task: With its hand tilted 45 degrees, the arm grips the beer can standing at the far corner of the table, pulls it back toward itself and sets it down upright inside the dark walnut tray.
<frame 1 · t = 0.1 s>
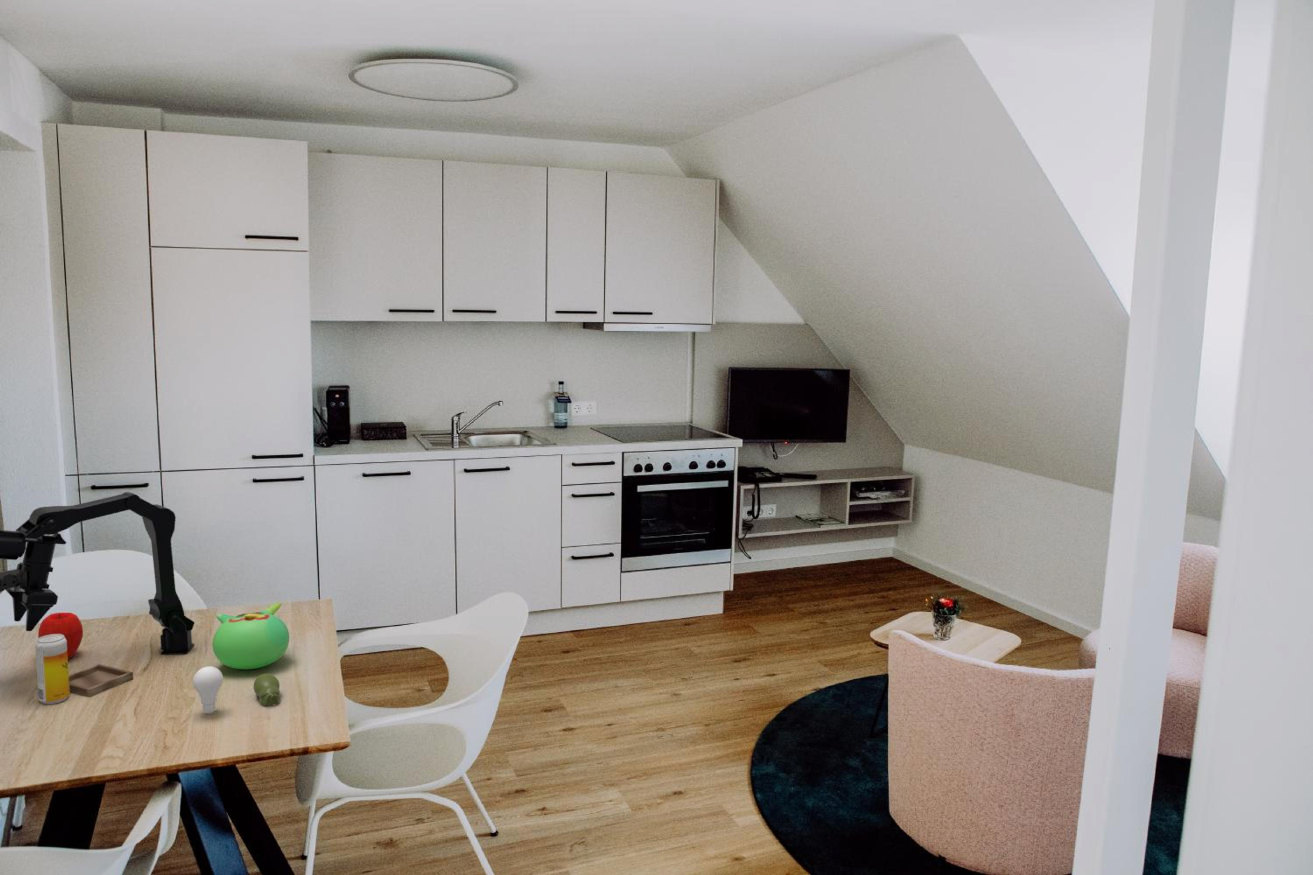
hand: (22, 625, 218), 15 cm above the table, tool pointing down, fingers open, 9 cm apart
lightbulb: (209, 714, 210), on the table
olive green rounded piece: (268, 700, 218), on the table
toy bird: (252, 666, 237), on the table
apple: (62, 658, 238), on the table
beer can: (54, 700, 214), on the table
tray: (94, 683, 223), on the table
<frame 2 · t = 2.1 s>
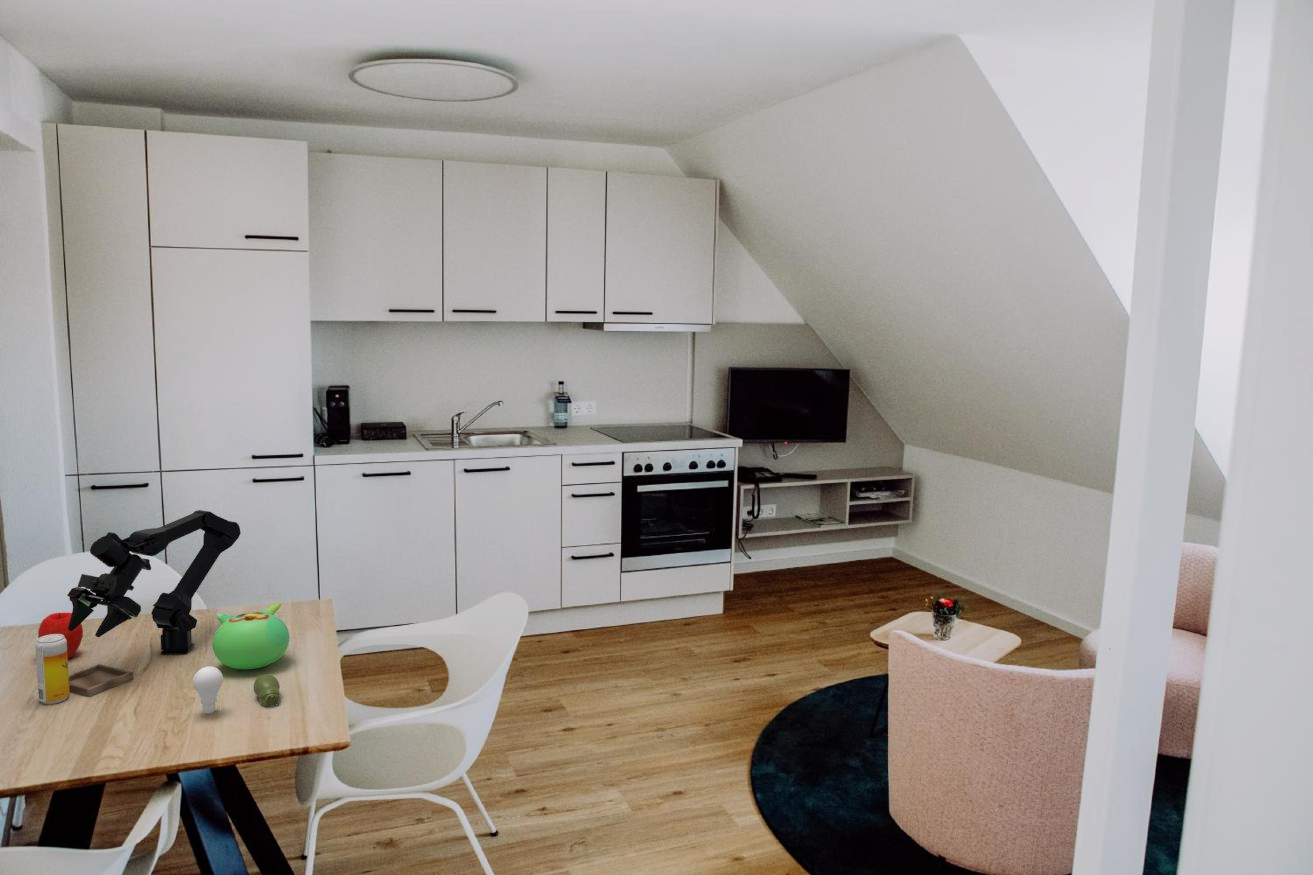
hand: (83, 633, 219), 13 cm above the table, tool tilted 45°, fingers open, 9 cm apart
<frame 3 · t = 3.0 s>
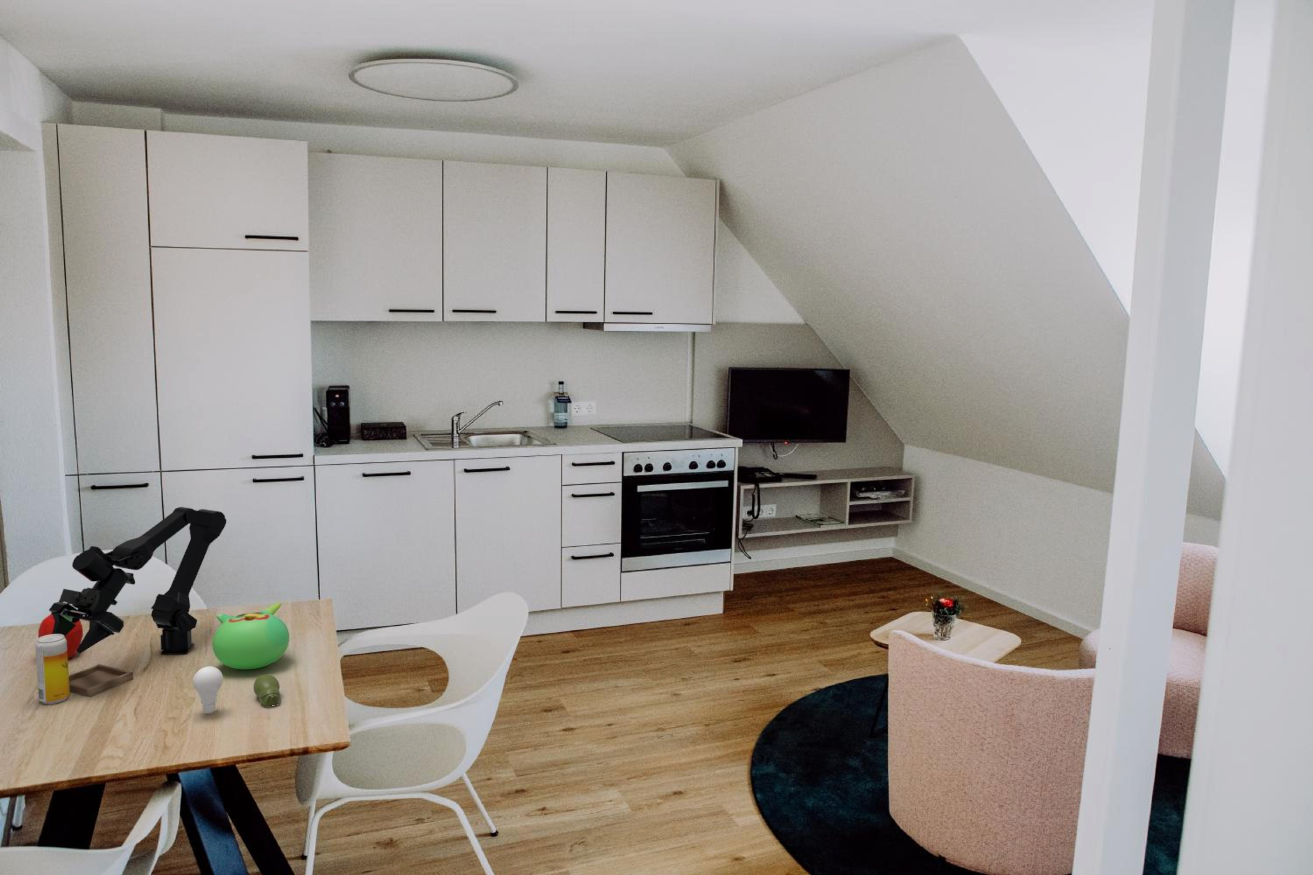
hand: (64, 649, 215), 11 cm above the table, tool tilted 45°, fingers open, 9 cm apart
nothing on the table moved.
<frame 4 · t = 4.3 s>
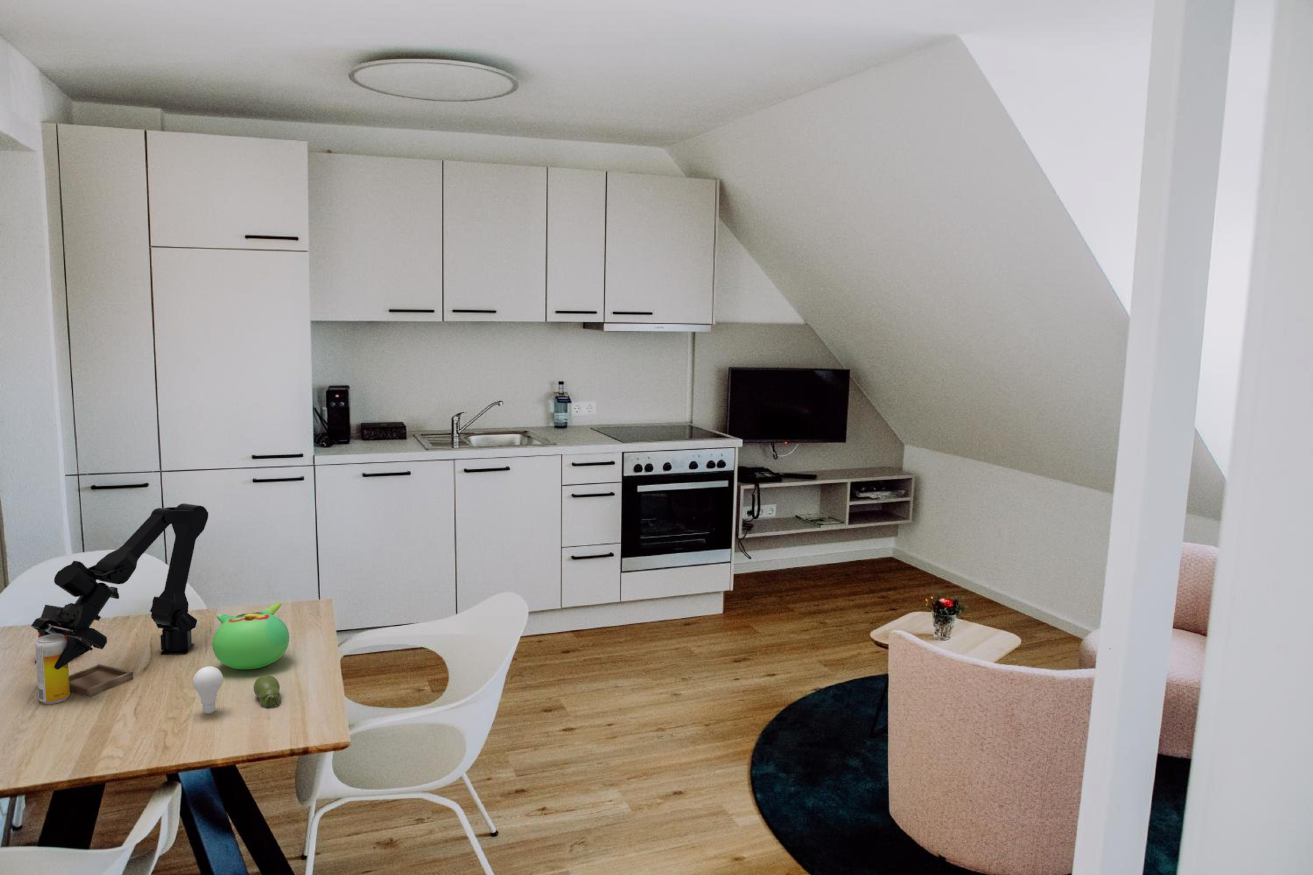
hand: (46, 666, 212), 9 cm above the table, tool tilted 45°, fingers closed on beer can, 6 cm apart
beer can: (54, 700, 214), on the table, touching gripper
everything else where it was.
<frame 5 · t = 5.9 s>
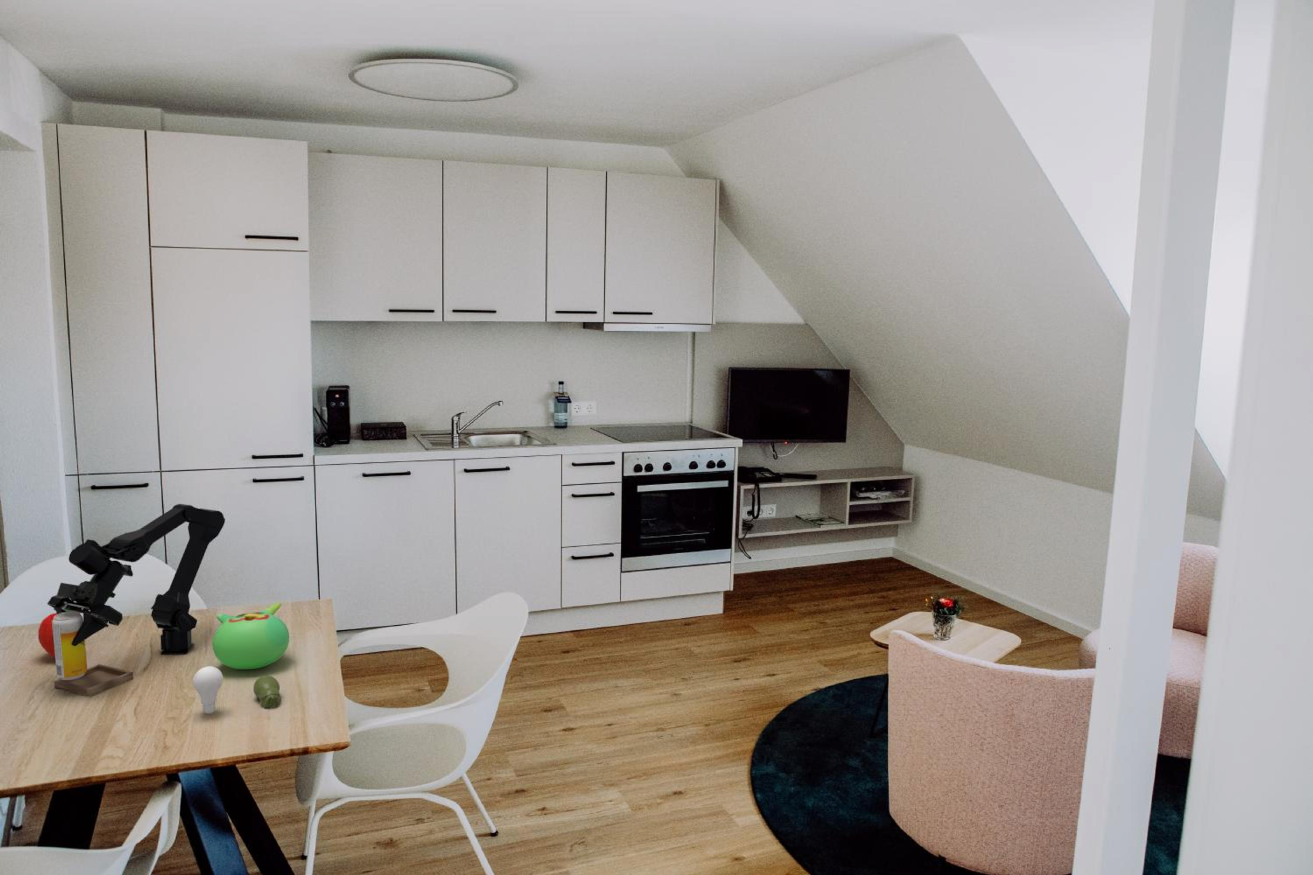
hand: (63, 643, 215), 13 cm above the table, tool tilted 45°, fingers closed on beer can, 6 cm apart
beer can: (72, 676, 218), point 4 cm above the table, touching gripper
when the fingers open (10 cm above the table, at t = 7.5 s): beer can drops 1 cm, resting on tray.
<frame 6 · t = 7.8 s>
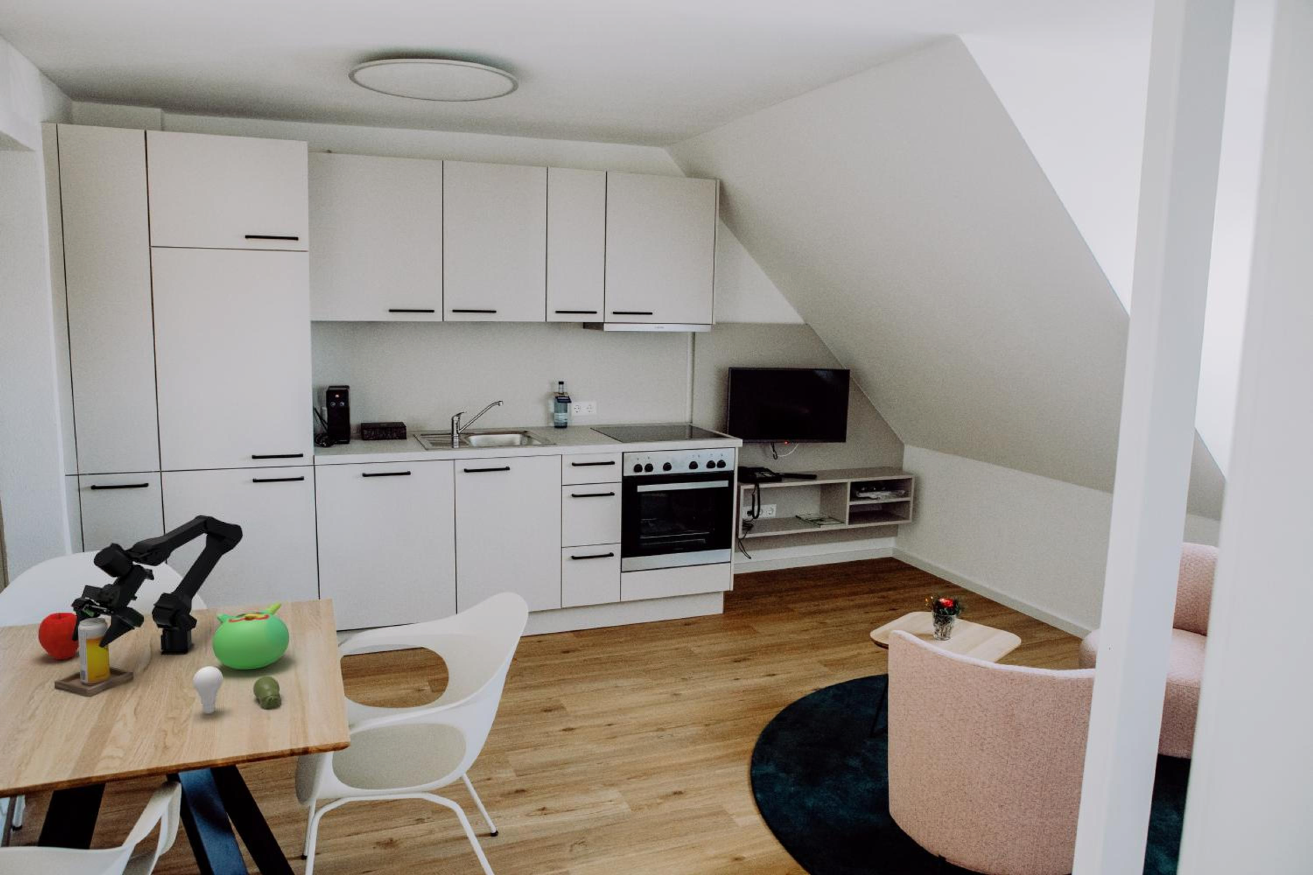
hand: (86, 643, 221), 11 cm above the table, tool tilted 45°, fingers open, 9 cm apart
beer can: (95, 681, 224), resting on tray
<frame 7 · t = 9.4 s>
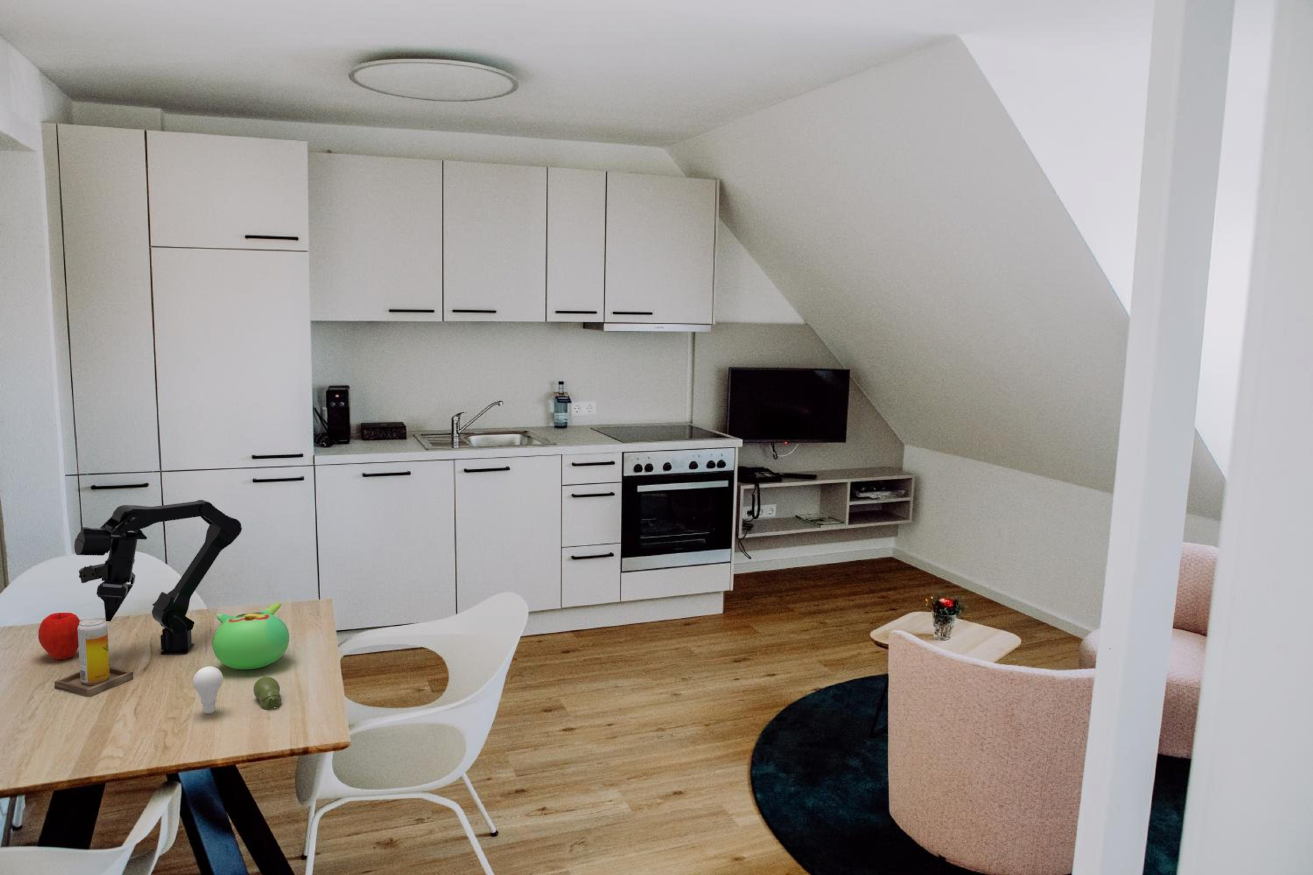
hand: (111, 616, 232), 13 cm above the table, tool pointing down, fingers open, 9 cm apart
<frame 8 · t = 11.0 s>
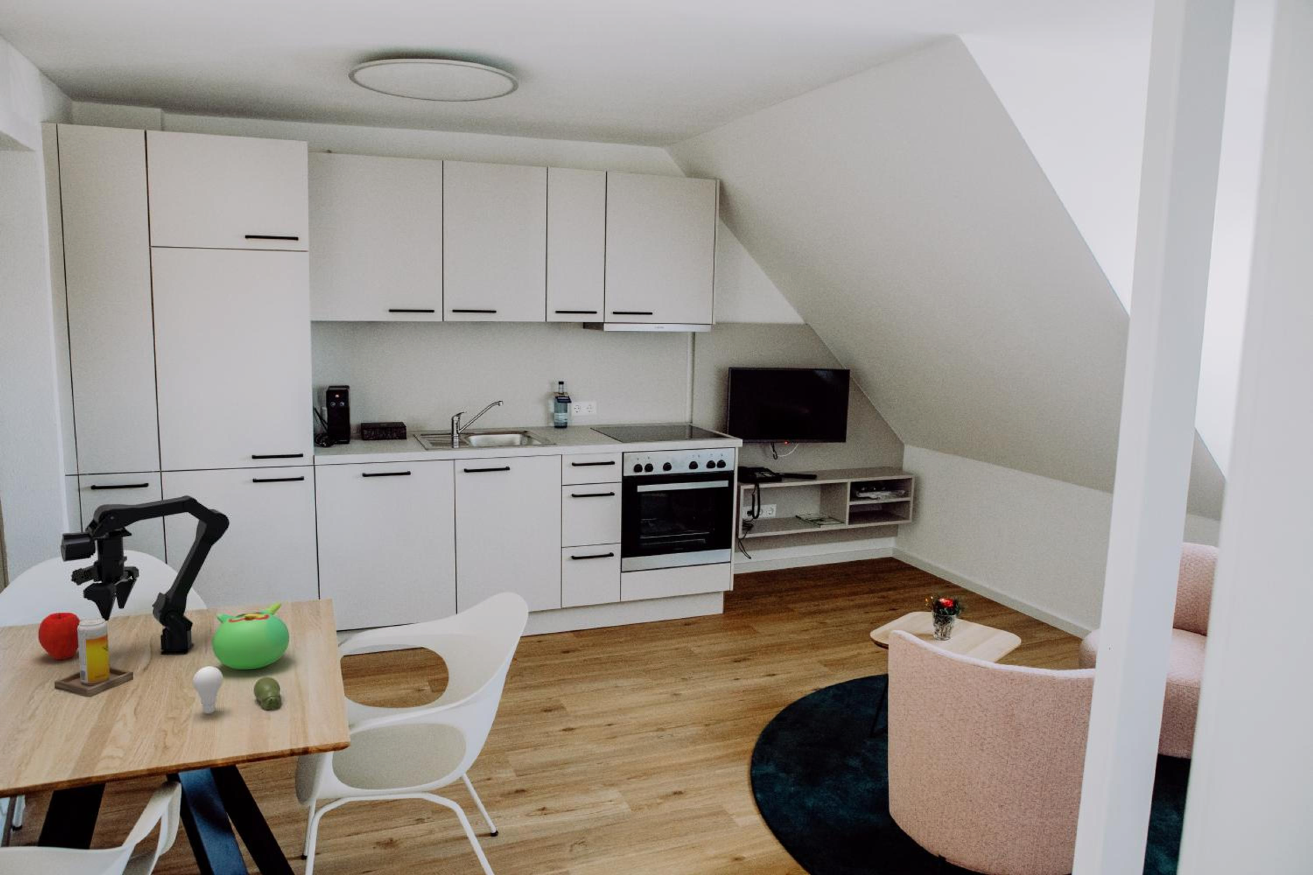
hand: (113, 614, 234), 13 cm above the table, tool pointing down, fingers open, 9 cm apart
at the end: beer can 0.3 cm from the tray (horizontally); beer can tilted 0°; the gripper is holding nothing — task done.
